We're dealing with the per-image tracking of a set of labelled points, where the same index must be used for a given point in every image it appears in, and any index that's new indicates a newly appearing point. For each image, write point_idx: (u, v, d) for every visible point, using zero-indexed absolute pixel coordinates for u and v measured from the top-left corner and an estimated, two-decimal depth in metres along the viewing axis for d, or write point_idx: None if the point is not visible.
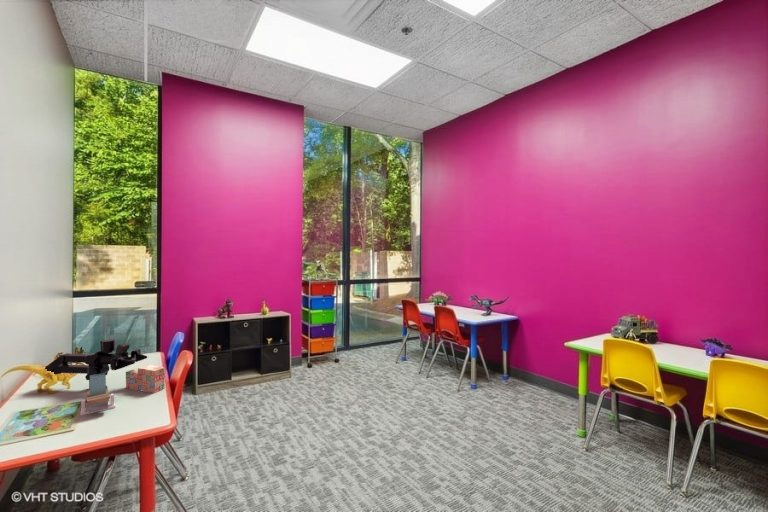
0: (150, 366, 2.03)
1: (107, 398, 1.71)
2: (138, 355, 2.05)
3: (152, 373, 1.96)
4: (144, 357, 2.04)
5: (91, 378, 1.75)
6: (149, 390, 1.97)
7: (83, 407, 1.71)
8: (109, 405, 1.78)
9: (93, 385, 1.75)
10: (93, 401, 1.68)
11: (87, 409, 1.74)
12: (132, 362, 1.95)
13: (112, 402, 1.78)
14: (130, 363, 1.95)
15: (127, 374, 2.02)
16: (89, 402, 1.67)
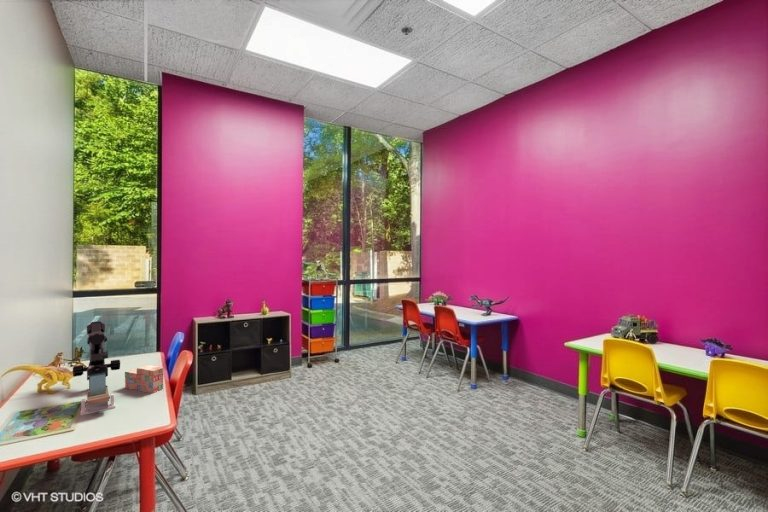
0: (149, 366, 2.03)
1: (107, 398, 1.71)
2: (98, 372, 1.83)
3: (151, 373, 1.96)
4: None
5: (91, 378, 1.75)
6: (148, 390, 1.97)
7: (83, 407, 1.71)
8: (109, 405, 1.78)
9: (93, 385, 1.76)
10: (93, 401, 1.68)
11: (87, 409, 1.74)
12: None
13: (112, 402, 1.78)
14: None
15: (126, 374, 2.02)
16: (89, 402, 1.67)
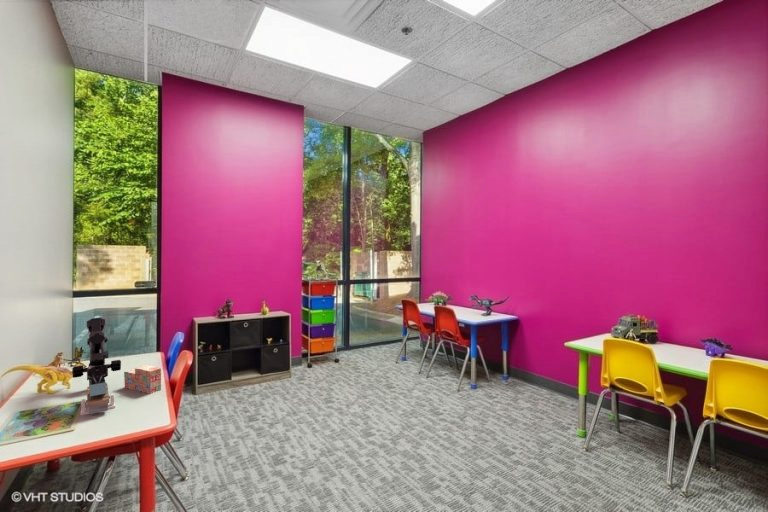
0: (147, 366, 2.02)
1: (107, 400, 1.71)
2: (98, 372, 1.79)
3: (148, 373, 1.96)
4: None
5: None
6: (145, 390, 1.96)
7: (83, 407, 1.71)
8: (109, 405, 1.78)
9: None
10: (93, 403, 1.68)
11: (87, 409, 1.74)
12: (96, 381, 1.76)
13: (112, 402, 1.78)
14: (95, 380, 1.77)
15: (125, 374, 2.03)
16: (89, 404, 1.67)
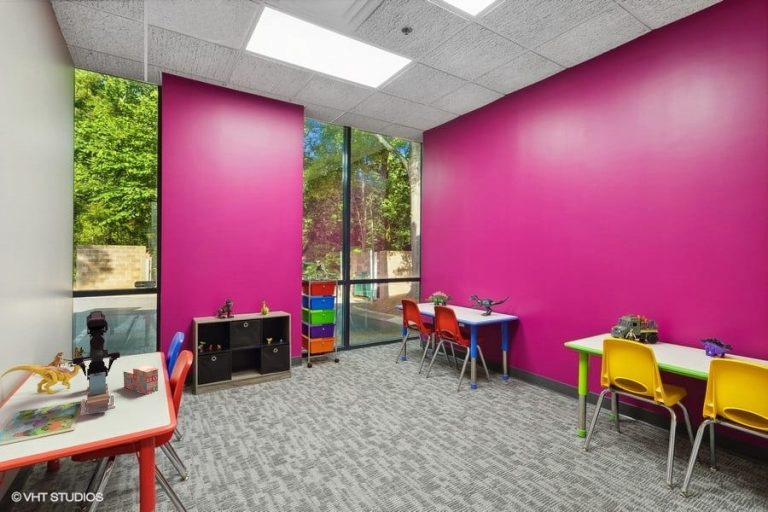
0: (145, 367, 2.02)
1: (107, 400, 1.71)
2: (109, 362, 1.90)
3: (144, 374, 1.95)
4: (108, 369, 1.90)
5: (91, 378, 1.75)
6: (142, 391, 1.96)
7: (83, 407, 1.71)
8: (109, 405, 1.78)
9: (93, 385, 1.75)
10: (93, 403, 1.68)
11: (87, 409, 1.74)
12: (84, 374, 1.84)
13: (112, 402, 1.78)
14: None
15: (125, 373, 2.03)
16: (89, 404, 1.67)
